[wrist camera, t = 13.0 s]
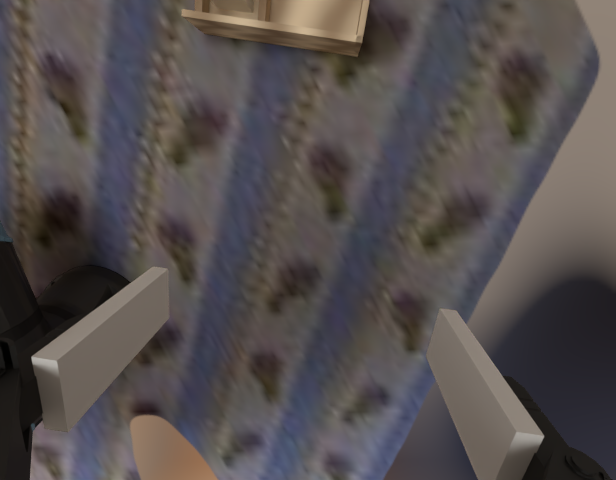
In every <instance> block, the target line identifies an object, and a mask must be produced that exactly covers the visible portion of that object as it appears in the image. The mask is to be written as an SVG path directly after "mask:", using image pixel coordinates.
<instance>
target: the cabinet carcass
mask: <svg viewBox="0 0 616 480" xmlns="http://www.w3.org/2000/svg"><path fill="white" fill-rule="evenodd" d="M368 6H369V0H254V9H253V13H246V12H239V11H233V10H226V9H219V8H217V7H216V6H215V5H214V4H213V3H212V1H211V0H195V11H192V10H185V9H182V17H184V18H185V19H186V20H187V21H189V22H190V23H191V24H193V25H194V26H195V27H196V28H198V29H199V30H200V31H202V32H203V33H204V34H208V35H215V36H221V37H228V38H235V39H242V40H248V41H255V42H262V43H268V44H275V45H282V46H288V47H295V48H302V49H309V50H315V51H322V52H329V53H335V54H342V55H349V56H355V57H358V54H359V51H360V48H361V44H362V40H363V34H364V29H365V23H366V17H367V12H368Z"/></svg>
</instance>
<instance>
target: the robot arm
mask: <svg viewBox="0 0 616 480" xmlns="http://www.w3.org/2000/svg"><path fill="white" fill-rule="evenodd" d="M12 242H13V239H12V238H11V237H9V236H8V235H7V233H6V231H5V229H4V227H3V225H2V223H1V221H0V480H30V465H31V450H32V434H33V431H34V429H35V427H36V426H37V425H38V424H39V423H40V422H41V421H42V420H43V423H44V428H45V429H50V430H57V431H63V432H69V431H70V430H71V428H72V427H73V426H74V425H75V424H76V423H77V422H78V421H79V419H80V418H81V417H82V416H83V415H84V414H85V413H86V411H87V410H88V409H89V408H90V407H91V406H92V405H93V404H94V402H95V401H96V400H97V399H98V398H99V397H100V396H101V395H102V393H103V392H104V391H105V390H106V389H107V388H108V387H109V385H110V384H111V383H112V382H113V381H114V380H115V379H116V378H117V376H118V375H119V374H120V373H121V372H122V371H123V370H124V368H125V367H126V366H127V365H128V364H129V363H130V362H131V361H132V359H133V358H134V357H135V356H136V355H137V354H138V353H139V352H140V350H141V349H142V348H143V347H144V346H145V345H146V344H147V342H148V341H149V340H150V339H151V338H152V337H153V336H154V335H155V333H156V332H157V331H158V330H159V329H160V328H161V327H162V325H163V324H164V323H165V322H166V321H167V320H168V319H169V277H168V269H166V268H159V267H152V268H150V269H149V270H148V271H146V272H145V273H144V274H142V275H141V276H139V277H138V278H137V279H135V280H134V281H133V282H131V283H129V282H128V281H127V280H126V279H125V278H123V277H122V276H120V275H119V274H117V273H115V272H113V271H111V270H108V269H105V268H102V267H97V266H81V267H76V268H73V269H71V270H69V271H67V272H65V273H63V274H61V275H60V276H58V277H57V278H55V279H54V280H53V281H52V282H51V283H50V284H49V285H48V286H47V287H46V289H45V291H44V292H43V293H42V294H41V295H40V296H39V297H38V298H37V299H36V298H35V296H34V294H33V291H32V289H31V287H30V284H29V282H28V280H27V277H26V275H25V273H24V270H23V268H22V266H21V263H20V261H19V258H18V256H17V254H16V251H15V249H14V247H13V244H12ZM426 358H427V360H428V363H429V365H430V367H431V370H432V372H433V374H434V377H435V379H436V381H437V384H438V386H439V388H440V391H441V393H442V395H443V398H444V400H445V403H446V405H447V407H448V410H449V412H450V414H451V417H452V419H453V422H454V424H455V426H456V429H457V431H458V433H459V436H460V438H461V441H462V443H463V445H464V448H465V450H466V452H467V455H468V457H469V459H470V462H471V464H472V467H473V469H474V471H475V474H476V476H477V478H478V480H612V479H610V477H609V476H608V474H607V473H606V471H605V470H604V469H603V468H602V467H601V466H600V465H599V464H598V463H597V462H596V461H595V460H593V459H592V458H590V457H589V456H587V455H586V454H584V453H583V452H581V451H578V450H576V449H574V448H572V447H569V446H568V445H567V444H566V442H565V441H564V440H563V438H562V437H561V436H560V434H559V433H558V432H557V430H556V429H555V428H554V426H553V425H552V424H551V423H550V421H549V420H548V418H547V417H546V416H545V415H544V413H543V412H541V409H540V408H539V407H538V405H537V404H536V403H535V402H533V399H532V397H531V396H530V395H529V393H528V392H527V391H526V389H525V388H524V387H522V386H521V385H520V384H519V383H518V382H516V381H515V380H514V379H513V378H512V377H508V376H502V375H501V374H500V372H499V371H498V369H497V368H496V367H495V365H494V364H493V362H492V361H491V359H490V358H489V357H488V355H487V354H486V352H485V351H484V349H483V348H482V347H481V345H480V344H479V342H478V341H477V339H475V337H474V335H473V334H472V332H471V331H470V330H469V328H468V327H467V325H466V324H465V322H464V321H463V320H462V318H461V317H460V315H459V314H458V312H457V311H456V310H449V309H442V308H440V309H439V313H438V316H437V320H436V323H435V326H434V330H433V333H432V337H431V340H430V344H429V347H428V350H427V354H426Z"/></svg>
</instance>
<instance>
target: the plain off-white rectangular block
mask: <svg viewBox="0 0 616 480" xmlns="http://www.w3.org/2000/svg"><path fill="white" fill-rule="evenodd" d="M211 1H212V3H213V4H214V5H215V6H216V7H217V8H219V9H226V10H233V11H239V12H246V13H253V9H254V0H211Z"/></svg>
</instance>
